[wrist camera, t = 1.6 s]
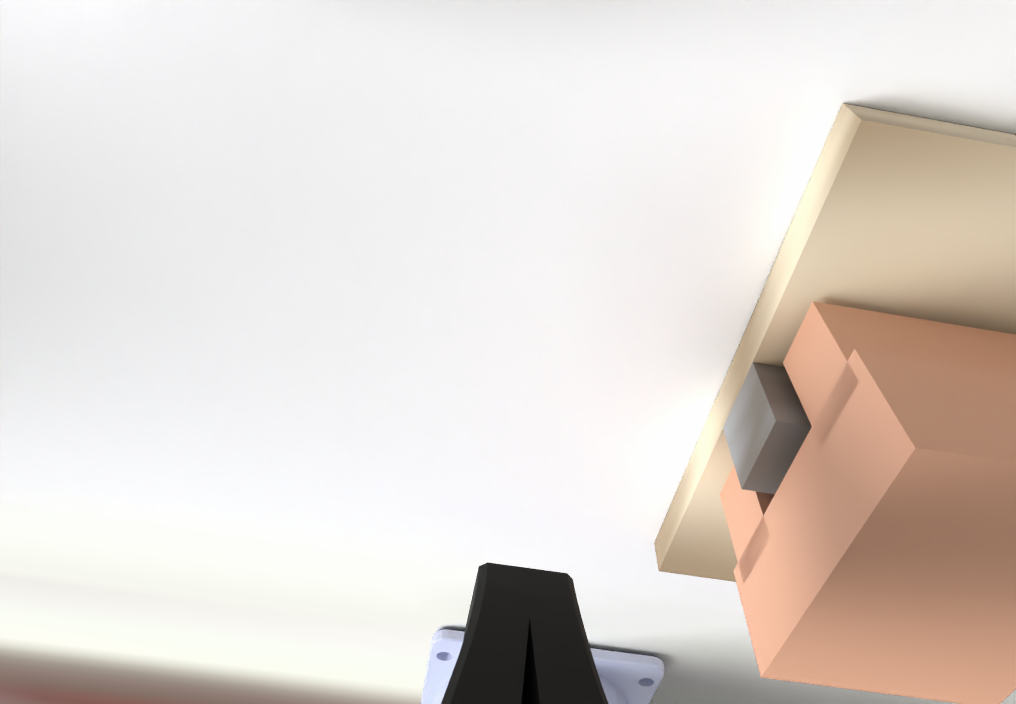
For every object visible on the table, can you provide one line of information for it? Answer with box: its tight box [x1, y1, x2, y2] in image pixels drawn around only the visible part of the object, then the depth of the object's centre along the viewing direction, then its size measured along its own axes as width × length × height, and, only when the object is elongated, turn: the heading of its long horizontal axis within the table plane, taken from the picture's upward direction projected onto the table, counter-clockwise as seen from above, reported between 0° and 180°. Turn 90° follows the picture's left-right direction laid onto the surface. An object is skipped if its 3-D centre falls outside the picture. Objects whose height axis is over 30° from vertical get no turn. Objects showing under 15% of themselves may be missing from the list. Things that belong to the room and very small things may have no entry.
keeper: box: [720, 301, 1016, 704], centre depth 15 cm, size 6×5×5 cm
